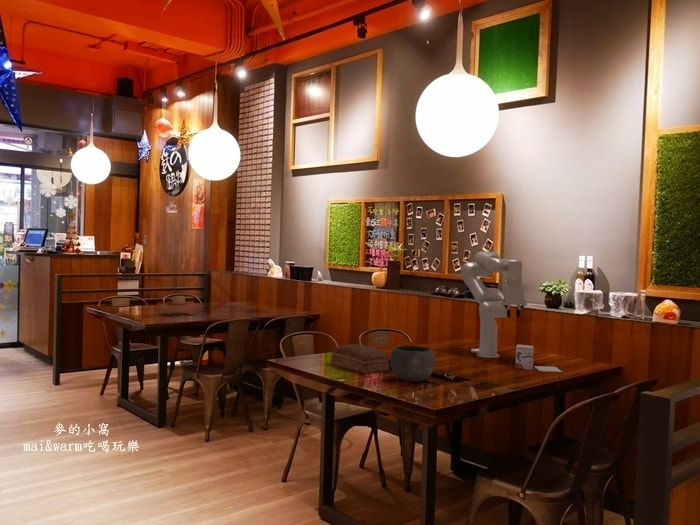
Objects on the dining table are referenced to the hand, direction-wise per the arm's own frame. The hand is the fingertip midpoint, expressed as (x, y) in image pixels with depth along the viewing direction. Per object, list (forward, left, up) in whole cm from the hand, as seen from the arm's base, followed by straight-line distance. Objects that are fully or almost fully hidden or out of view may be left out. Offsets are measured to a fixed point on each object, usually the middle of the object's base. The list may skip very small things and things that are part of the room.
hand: (513, 316), depth 323 cm
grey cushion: (-80, -23, -26) cm, 87 cm away
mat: (+16, -11, -25) cm, 32 cm away
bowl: (-55, -50, -25) cm, 79 cm away
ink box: (+4, -11, -25) cm, 28 cm away
